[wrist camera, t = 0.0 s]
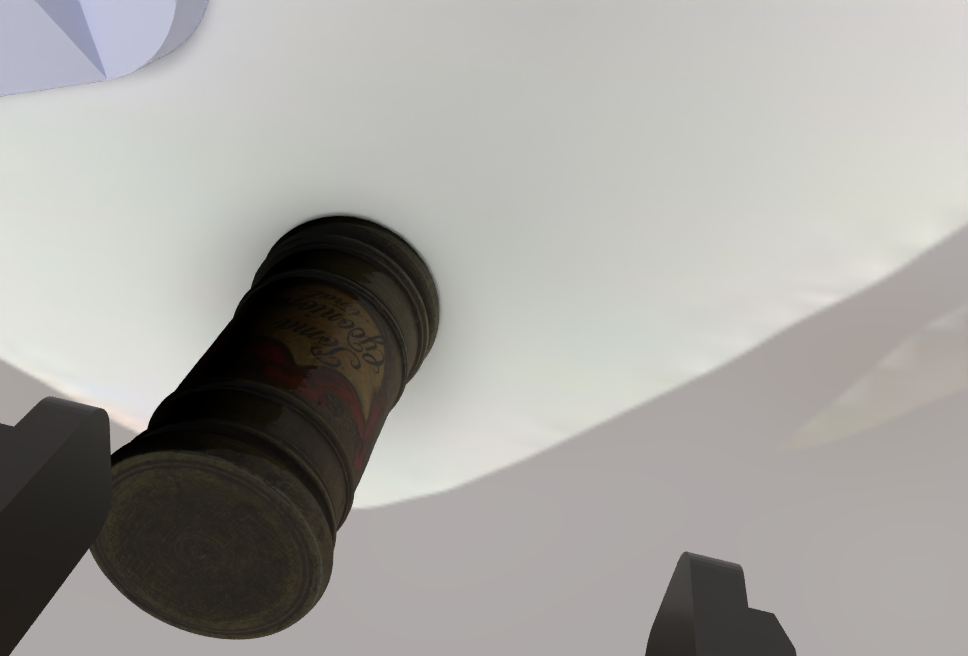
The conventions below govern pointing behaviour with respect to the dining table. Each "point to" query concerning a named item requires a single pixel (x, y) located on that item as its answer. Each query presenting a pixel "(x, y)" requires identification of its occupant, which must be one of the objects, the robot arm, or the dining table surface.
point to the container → (270, 435)
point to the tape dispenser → (87, 39)
